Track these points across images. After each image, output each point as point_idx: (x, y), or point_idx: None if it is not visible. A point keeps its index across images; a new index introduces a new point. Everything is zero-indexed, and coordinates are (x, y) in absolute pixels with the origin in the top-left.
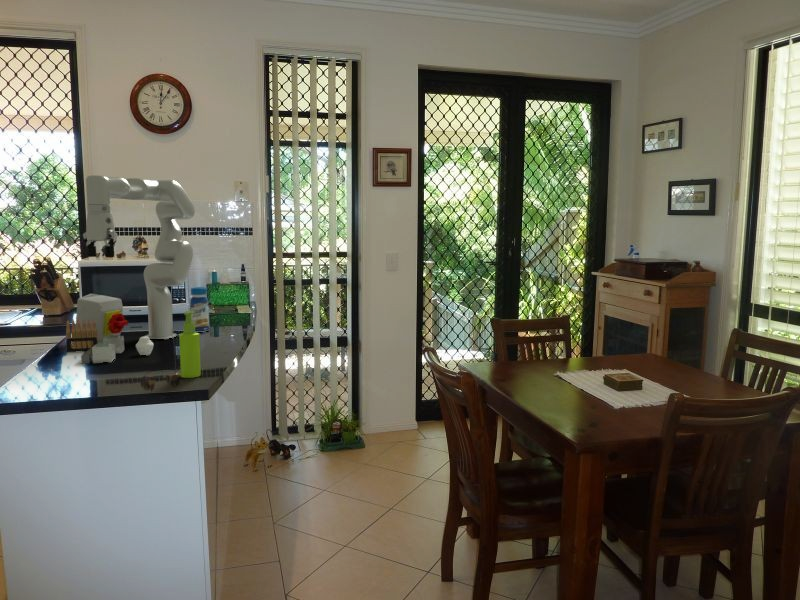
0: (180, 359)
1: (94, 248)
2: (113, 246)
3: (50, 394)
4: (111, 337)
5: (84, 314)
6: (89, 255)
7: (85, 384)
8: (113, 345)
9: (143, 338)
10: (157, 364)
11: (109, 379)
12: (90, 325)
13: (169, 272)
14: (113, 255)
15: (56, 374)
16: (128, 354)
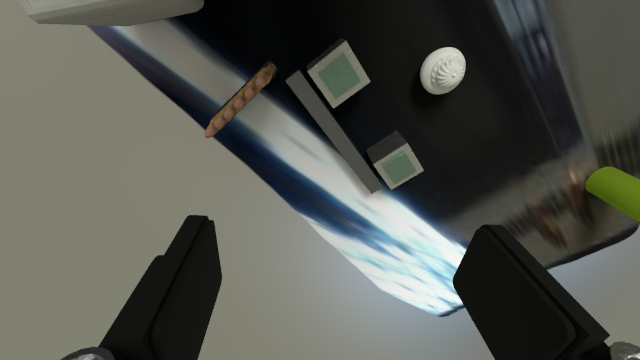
0: (613, 206)
1: (179, 316)
2: (599, 333)
3: None
4: (346, 91)
5: (118, 16)
6: (218, 286)
7: None
8: (412, 152)
9: (454, 84)
10: (510, 137)
11: None
12: (254, 90)
13: None
14: (504, 239)
15: (388, 240)
16: (389, 79)
